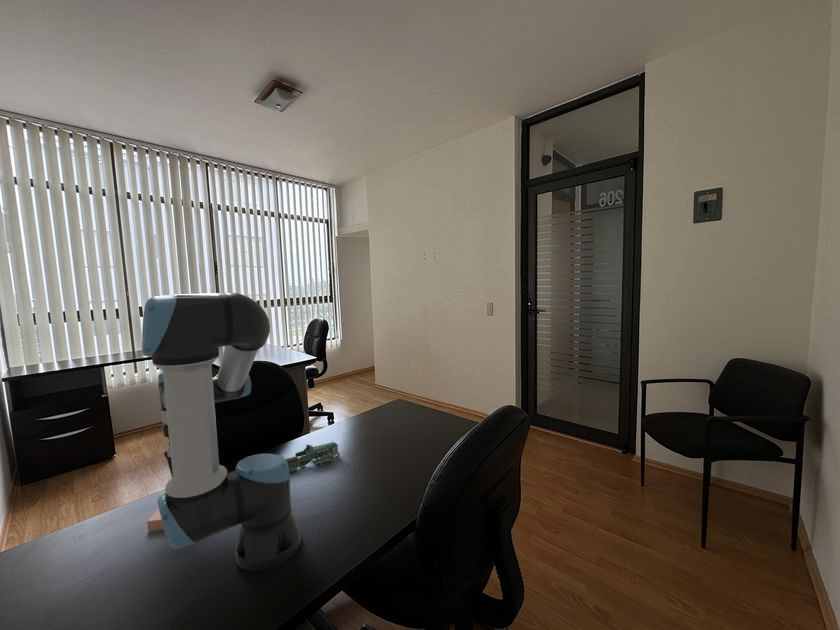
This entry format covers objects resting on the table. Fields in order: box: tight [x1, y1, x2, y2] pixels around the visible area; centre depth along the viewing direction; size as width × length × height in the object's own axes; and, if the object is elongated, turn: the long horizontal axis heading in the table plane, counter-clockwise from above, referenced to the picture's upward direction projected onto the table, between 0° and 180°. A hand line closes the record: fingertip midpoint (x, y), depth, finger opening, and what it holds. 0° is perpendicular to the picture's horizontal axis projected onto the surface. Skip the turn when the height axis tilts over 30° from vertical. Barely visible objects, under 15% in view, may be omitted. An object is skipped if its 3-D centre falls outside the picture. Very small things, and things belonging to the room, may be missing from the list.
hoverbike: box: [280, 441, 341, 474], centre depth 127 cm, size 10×25×8 cm, turn 124°
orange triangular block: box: [146, 508, 164, 532], centre depth 100 cm, size 8×6×3 cm
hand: (184, 494), depth 109 cm, fingers closed
